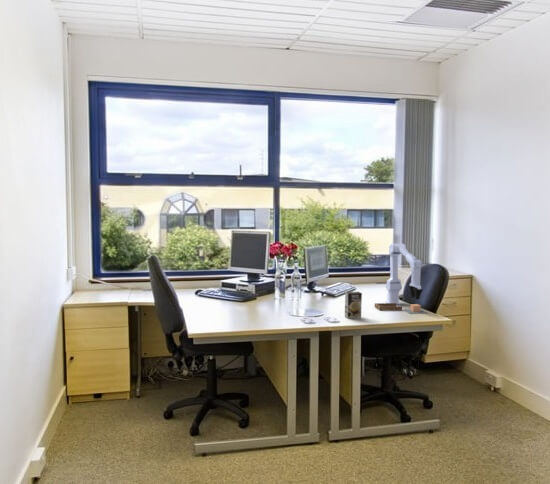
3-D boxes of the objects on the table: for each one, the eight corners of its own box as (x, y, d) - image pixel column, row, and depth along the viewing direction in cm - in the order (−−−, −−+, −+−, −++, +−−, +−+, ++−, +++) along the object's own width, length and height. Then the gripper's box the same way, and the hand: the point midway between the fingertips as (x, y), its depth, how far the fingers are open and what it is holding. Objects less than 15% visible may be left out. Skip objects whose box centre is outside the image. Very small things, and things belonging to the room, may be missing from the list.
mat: (403, 309, 333) (403, 309, 333) (420, 309, 334) (420, 308, 334) (409, 313, 321) (409, 312, 321) (427, 313, 322) (427, 312, 322)
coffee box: (347, 318, 306) (348, 293, 304) (344, 316, 312) (344, 291, 311) (361, 318, 307) (362, 292, 306) (357, 315, 314) (358, 291, 312)
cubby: (374, 306, 341) (374, 303, 341) (396, 306, 343) (396, 303, 343) (379, 310, 330) (379, 307, 329) (402, 310, 331) (402, 306, 331)
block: (410, 310, 330) (410, 304, 330) (417, 309, 330) (417, 304, 330) (413, 311, 325) (413, 305, 325) (420, 311, 325) (420, 305, 325)
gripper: (406, 276, 333) (405, 296, 334) (414, 279, 318) (413, 300, 319) (416, 276, 333) (415, 296, 334) (424, 279, 319) (423, 300, 320)
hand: (415, 298), depth 327 cm, fingers open, 7 cm apart
